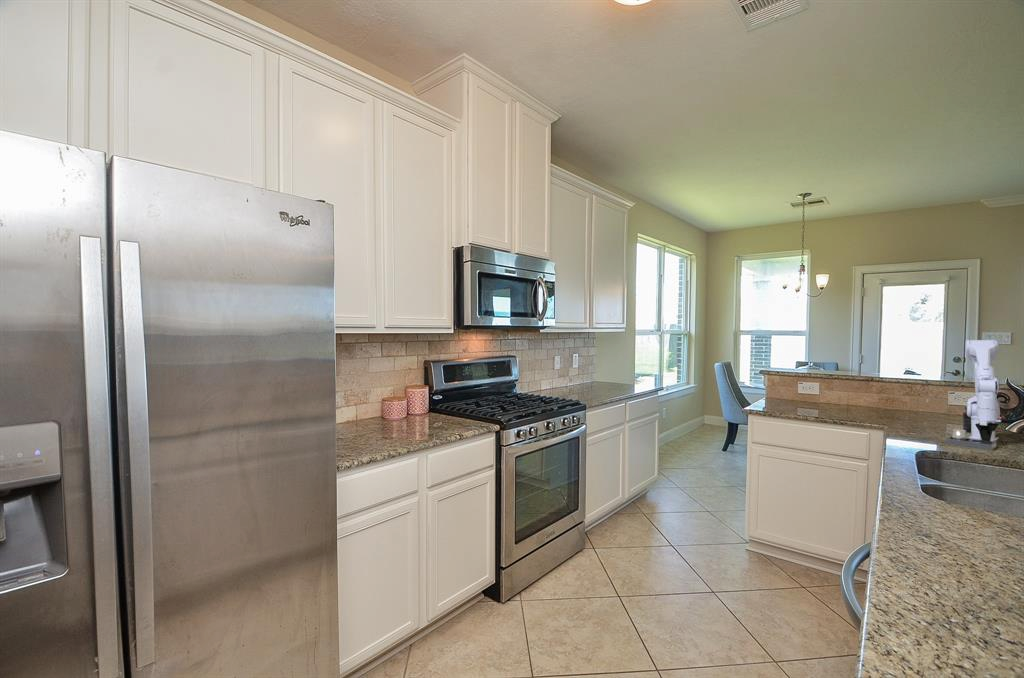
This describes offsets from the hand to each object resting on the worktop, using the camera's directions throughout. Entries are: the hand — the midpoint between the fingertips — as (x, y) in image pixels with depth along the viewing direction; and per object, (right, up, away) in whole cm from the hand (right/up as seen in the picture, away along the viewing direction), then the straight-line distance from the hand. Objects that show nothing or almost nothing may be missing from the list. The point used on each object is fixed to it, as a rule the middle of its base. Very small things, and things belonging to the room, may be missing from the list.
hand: (987, 441), depth 185 cm
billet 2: (0, -2, 0) cm, 2 cm away
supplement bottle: (+22, -2, +27) cm, 34 cm away
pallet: (-10, -2, -3) cm, 10 cm away
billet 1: (-12, -1, 0) cm, 12 cm away
